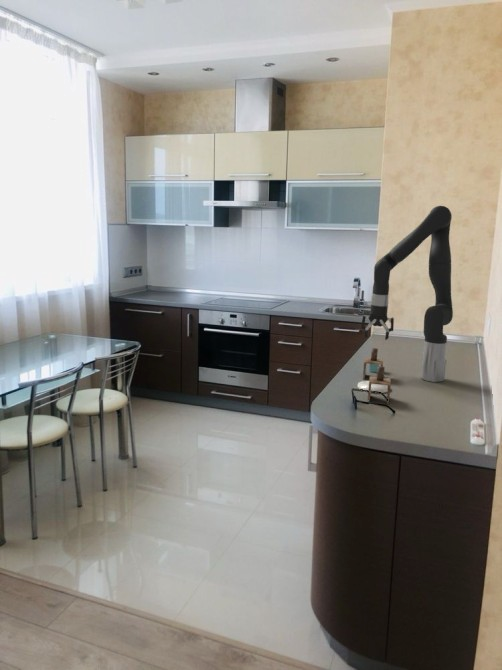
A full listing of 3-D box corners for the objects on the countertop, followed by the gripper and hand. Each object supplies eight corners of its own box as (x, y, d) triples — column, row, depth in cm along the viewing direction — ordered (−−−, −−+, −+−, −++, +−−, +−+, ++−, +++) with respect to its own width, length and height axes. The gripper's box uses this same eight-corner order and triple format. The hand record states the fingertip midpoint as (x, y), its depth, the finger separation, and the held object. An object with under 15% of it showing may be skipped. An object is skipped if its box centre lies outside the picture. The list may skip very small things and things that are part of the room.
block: (378, 370, 257) (379, 357, 256) (378, 372, 254) (379, 360, 252) (369, 369, 258) (370, 357, 257) (369, 371, 255) (370, 359, 253)
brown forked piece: (381, 376, 248) (384, 347, 245) (381, 381, 241) (383, 351, 238) (363, 374, 250) (365, 346, 247) (362, 379, 243) (365, 350, 240)
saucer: (396, 390, 228) (396, 387, 228) (371, 394, 222) (372, 392, 221) (374, 382, 239) (374, 379, 239) (350, 385, 233) (351, 383, 232)
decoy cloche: (388, 397, 219) (391, 365, 216) (388, 404, 212) (391, 370, 209) (368, 395, 221) (370, 363, 218) (367, 401, 213) (370, 368, 211)
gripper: (395, 303, 251) (392, 338, 255) (363, 301, 254) (360, 335, 258) (395, 306, 244) (392, 342, 248) (363, 304, 247) (360, 339, 251)
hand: (376, 338), depth 253 cm, fingers open, 8 cm apart
